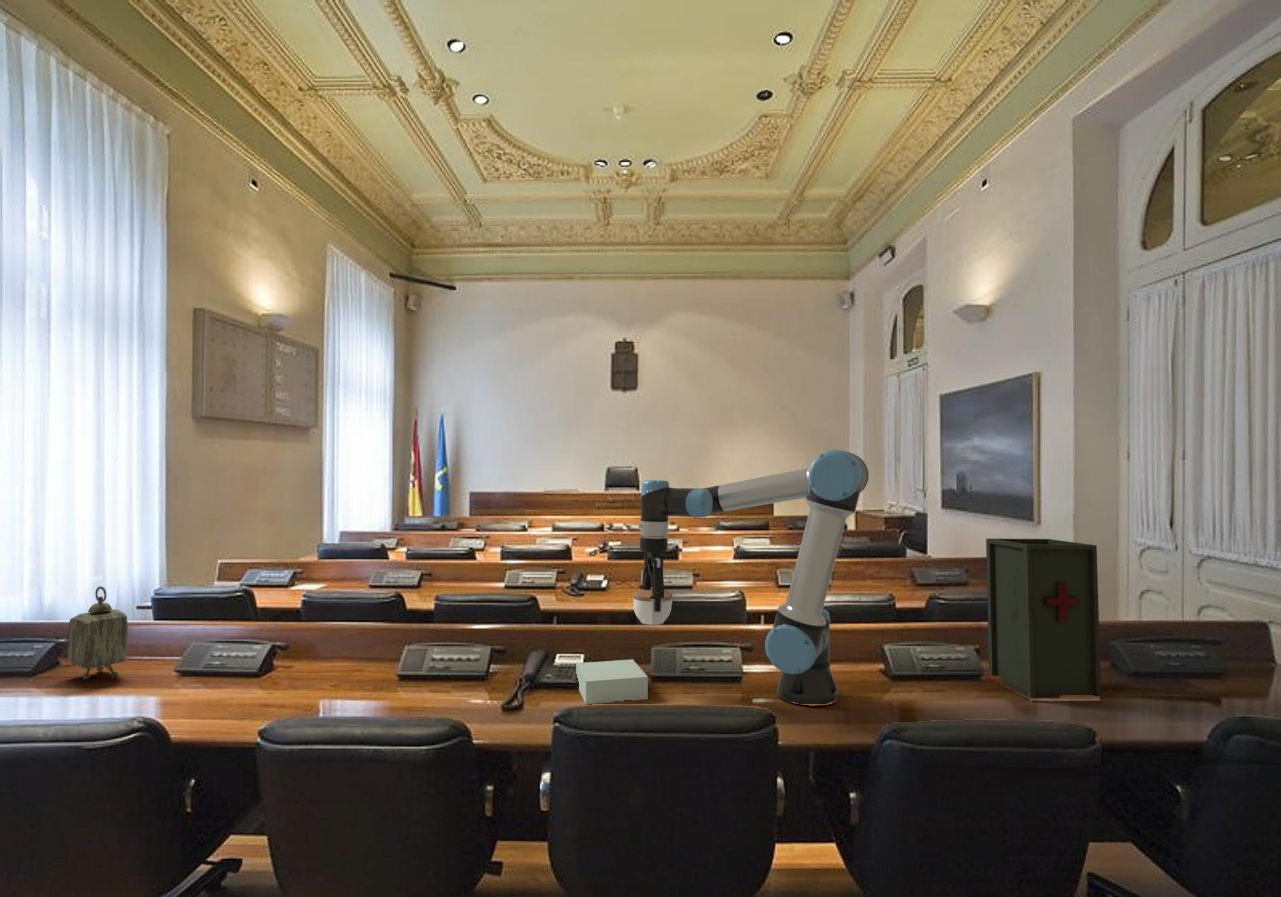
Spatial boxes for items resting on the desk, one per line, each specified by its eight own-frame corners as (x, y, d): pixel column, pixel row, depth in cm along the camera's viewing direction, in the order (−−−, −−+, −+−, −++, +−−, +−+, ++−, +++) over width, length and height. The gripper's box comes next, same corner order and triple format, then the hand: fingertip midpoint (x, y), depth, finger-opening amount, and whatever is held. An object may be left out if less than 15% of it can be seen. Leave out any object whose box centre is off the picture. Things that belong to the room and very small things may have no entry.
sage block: (632, 681, 176) (632, 659, 176) (647, 700, 161) (647, 676, 161) (576, 685, 172) (576, 663, 172) (585, 705, 157) (586, 681, 157)
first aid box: (1052, 679, 180) (1048, 538, 182) (1101, 701, 161) (1096, 545, 163) (988, 679, 179) (986, 538, 181) (1031, 701, 161) (1027, 545, 163)
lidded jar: (668, 628, 163) (668, 592, 164) (628, 625, 166) (628, 589, 166) (674, 619, 174) (675, 585, 174) (637, 616, 176) (638, 583, 176)
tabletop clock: (125, 677, 174) (129, 587, 176) (83, 686, 167) (88, 591, 168) (105, 669, 182) (109, 582, 183) (64, 677, 174) (69, 586, 176)
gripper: (633, 532, 181) (631, 609, 180) (648, 541, 158) (646, 629, 158) (658, 532, 183) (656, 609, 182) (677, 541, 160) (675, 628, 159)
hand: (652, 618), depth 170 cm, fingers closed on lidded jar, 11 cm apart
